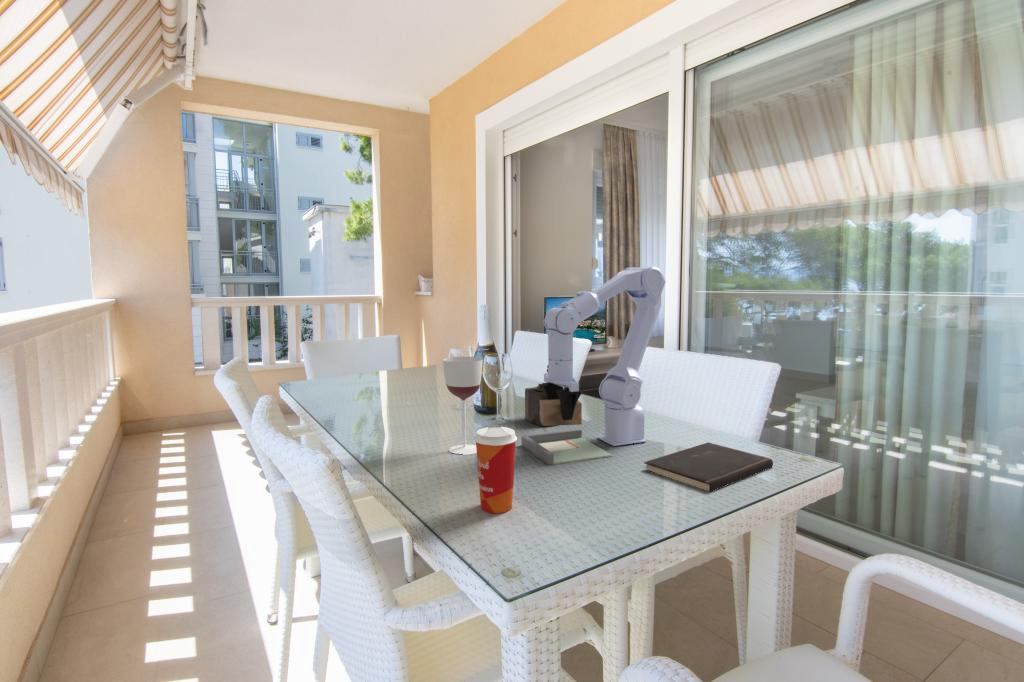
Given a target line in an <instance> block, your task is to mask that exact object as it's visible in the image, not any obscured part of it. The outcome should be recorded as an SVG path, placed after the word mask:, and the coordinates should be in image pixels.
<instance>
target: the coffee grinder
mask: <svg viewBox="0 0 1024 682" xmlns="http://www.w3.org/2000/svg"><path fill="white" fill-rule="evenodd" d="M546 368H547V369H546V373H548V365H547V366H546ZM546 383H547V382H542V383H538V385H537V386H533V387H526V388H525V389H524V420H525V421H526V420H527V422H528V423H531V424H534V425H538V426H541V427H543V428H548V427H549V428H550V427H551V426H543V425H542V423H541V421H540V400H546V396H545V394H544V391H543V389H542V388H541V384H546ZM563 390H564V388H563ZM556 426H558V425H555V426H554V427H556Z"/></svg>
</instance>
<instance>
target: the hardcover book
mask: <svg viewBox="0 0 1024 682" xmlns="http://www.w3.org/2000/svg"><path fill="white" fill-rule="evenodd" d="M643 464H645V470H646V469H647V470H650V471H652V472H651V473H653V472H655V473H654V474H656V473H658V474H657V475H659V474H661V475H660V476H662V475H663V476H662V477H665V476H666V477H665V478H668V477H669V478H668V479H671V478H672V480H674V481H677V480H678V481H677V482H680V481H681V482H680V483H683V482H684V483H683V484H686V483H687V484H686V485H688V484H690V485H689V486H691V485H692V487H694V486H696V487H695V488H697V487H698V488H697V489H700V488H701V490H703V489H704V490H703V491H706V490H707V491H706V492H709V493H712V492H714V491H716V490H715V489H717V488H719V489H721V488H720V487H722V486H724V487H726V486H725V485H727V484H729V485H731V484H730V483H732V482H734V483H737V482H739V481H741V480H740V479H742V480H744V479H746V478H745V477H747V478H749V477H751V476H750V475H752V476H754V475H756V474H755V473H757V474H759V473H761V472H760V471H762V472H764V471H766V470H765V469H767V468H769V469H771V468H770V467H772V466H773V467H774V461H773V459H772V458H771V457H766V456H762V455H759V454H755V453H751V452H747V451H743V450H739V449H734V448H732V447H728V446H723V445H719V444H717V443H711V442H705V443H701V444H698V445H695V446H692V447H688V448H685V449H683V450H678V451H674V452H673V453H669V454H666V455H663V456H660V457H657V458H653V459H649V460H647V461H644V463H643ZM773 467H772V468H773ZM647 470H646V471H647ZM763 470H764V471H763ZM767 470H768V469H767ZM650 471H649V472H650ZM758 472H759V473H758ZM753 474H754V475H753ZM748 476H749V477H748ZM743 478H744V479H743ZM738 480H739V481H738ZM736 481H737V482H736ZM732 484H733V483H732ZM727 486H728V485H727ZM722 488H723V487H722ZM713 490H714V491H713ZM717 490H718V489H717ZM711 491H712V492H711Z"/></svg>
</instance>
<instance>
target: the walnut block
mask: <svg viewBox="0 0 1024 682" xmlns="http://www.w3.org/2000/svg"><path fill="white" fill-rule="evenodd" d="M582 406H583V404H582V402H581V401H580V400H578V401H577V403H576V406H575V409H574V413H573V417H572V420H563V418H562V412H561V404H560V400H559V399H553V400H540V421H541V423H542V425H543V426H542V427H544V426H550V427H556V426H555V425H557V426H576V425H583V423H582V417H583V415H582V414H583V413H582V412H583V410H582V408H583V407H582Z"/></svg>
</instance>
